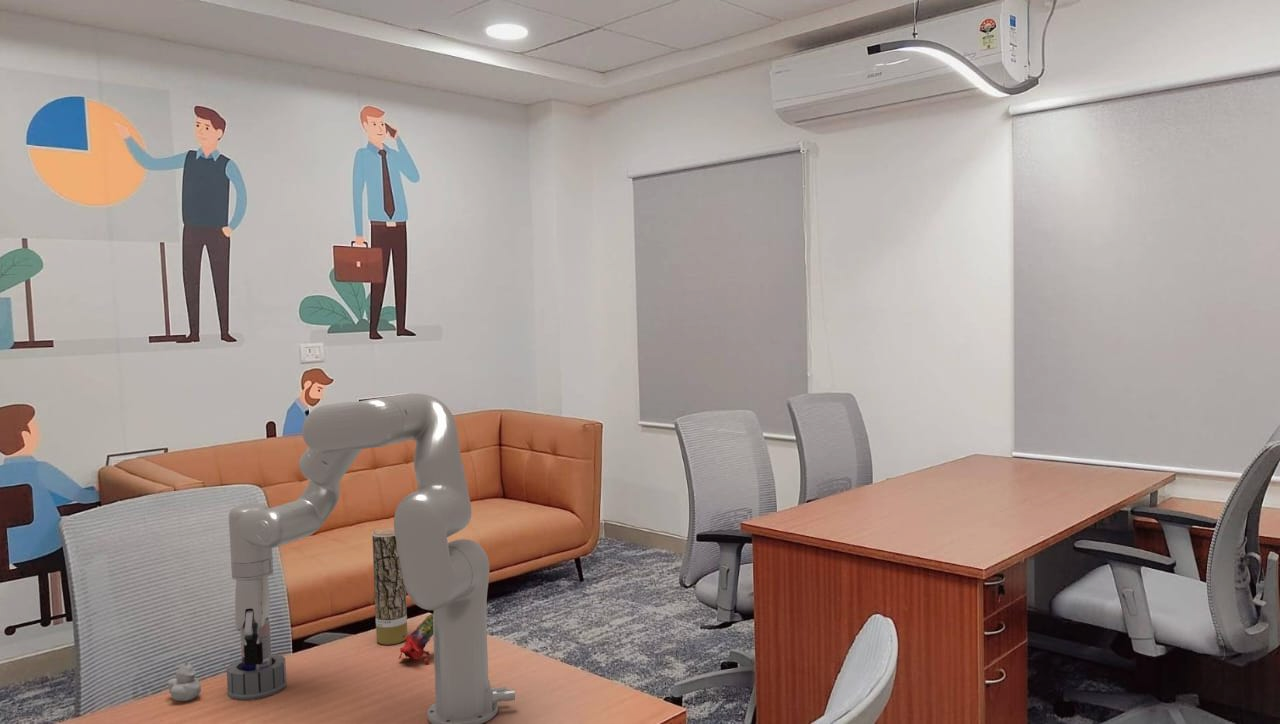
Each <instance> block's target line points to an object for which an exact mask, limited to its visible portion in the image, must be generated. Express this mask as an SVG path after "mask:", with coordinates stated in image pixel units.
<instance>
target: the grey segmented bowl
mask: <svg viewBox="0 0 1280 724" xmlns="http://www.w3.org/2000/svg"><path fill="white" fill-rule="evenodd" d="M271 657H272V665H271V666H269V667H267V668H263V669H260V670H253V671H242V658H240V659H238V660H236V661H234V662H232V663H230V664H229V665H228V666H227V668H226V685H227V689H226V690H227V691H226V693H227V698H229V697H230V698H229V699H231V698H232V699H231V700H234V699H237V700H236V701H252V700H251V699H255V700H259V699H258V698H261V699H264V698H263V697H265V698H268V697H271V696H273V694H274V695H276V694H278V693H280V692H282V691H283V690H285V689H286V687H287V686H286V685H288V681H287V668H286V667H287V665H286V658H285V657H284V656H283V655H281V654H273V653H271ZM281 690H282V691H281ZM279 691H280V692H279ZM275 693H276V694H275ZM270 695H271V696H270ZM267 696H268V697H267Z"/></svg>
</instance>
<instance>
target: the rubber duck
mask: <svg viewBox="0 0 1280 724" xmlns="http://www.w3.org/2000/svg"><path fill="white" fill-rule="evenodd" d="M175 672H176V673H175V677H174V678H171V679H169V680H168V681H167V685H168V689H169V693H170V696H171V698H172V699H173V700H175V701H177V702H188V701H192V700H193V699H195V698H196V697H198V696H199V695H200V693H201V690H202V688H201V683H200V680H199V678H197V677H196V674H197V672H196V669H194V667H193V666H192V665H191V663H189V662H188V660H187V659H185V661H184V664H181V665H180V667H179V668H178V669H177V670H176V671H175Z"/></svg>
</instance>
